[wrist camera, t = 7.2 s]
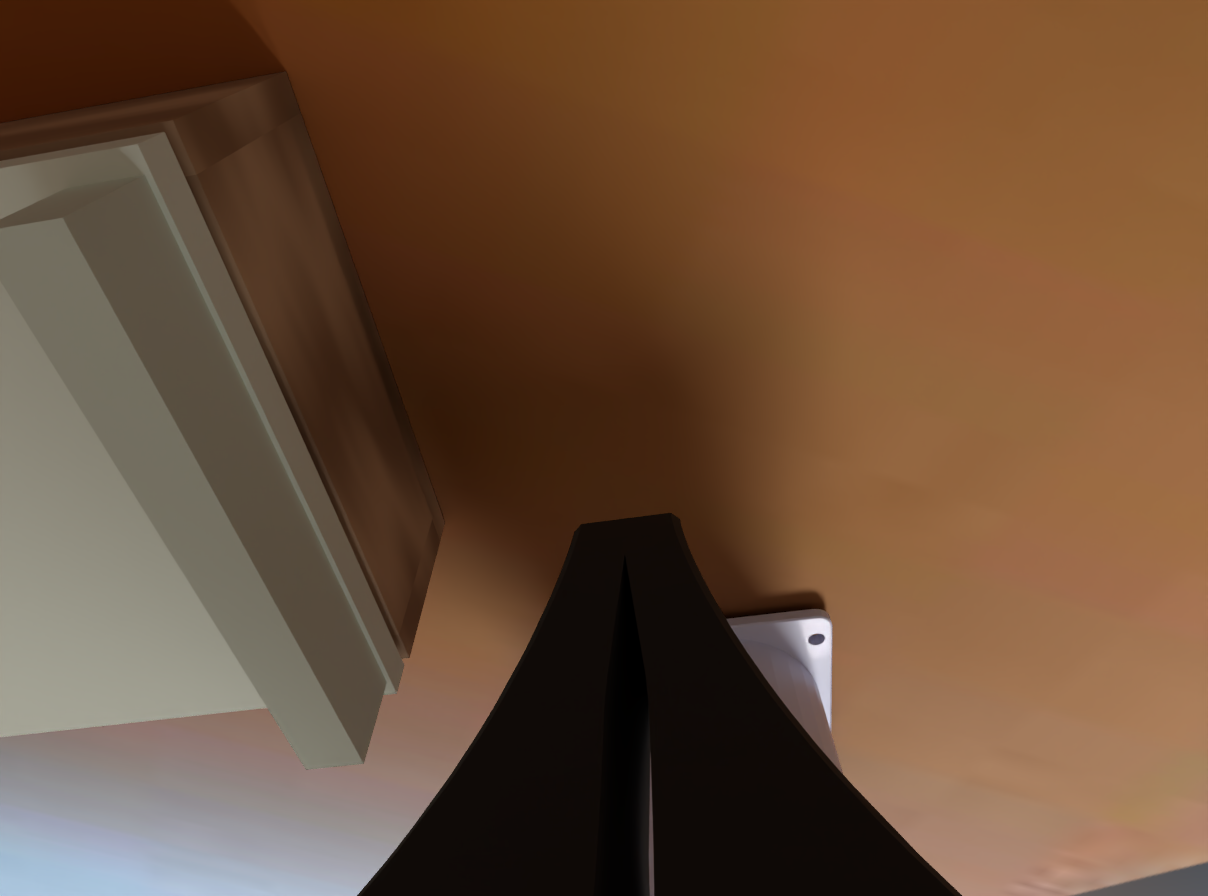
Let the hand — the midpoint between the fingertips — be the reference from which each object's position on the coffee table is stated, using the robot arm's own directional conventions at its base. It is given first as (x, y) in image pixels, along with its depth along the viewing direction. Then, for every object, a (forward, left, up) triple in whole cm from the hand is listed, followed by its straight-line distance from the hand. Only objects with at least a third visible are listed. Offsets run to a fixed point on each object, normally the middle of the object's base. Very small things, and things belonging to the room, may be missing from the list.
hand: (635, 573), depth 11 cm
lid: (0, +12, -4) cm, 13 cm away
